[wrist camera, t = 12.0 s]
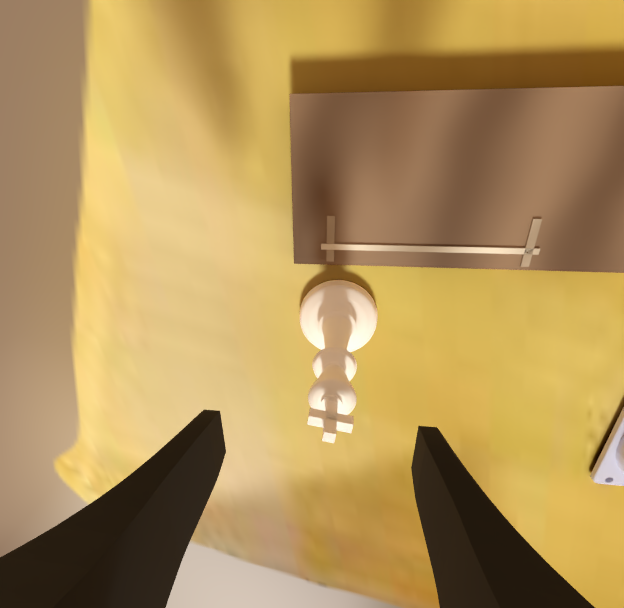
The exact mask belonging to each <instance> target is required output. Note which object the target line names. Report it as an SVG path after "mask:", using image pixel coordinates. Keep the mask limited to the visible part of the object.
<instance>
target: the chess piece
mask: <svg viewBox="0 0 624 608" xmlns="http://www.w3.org/2000/svg"><path fill="white" fill-rule="evenodd" d="M300 324H301V328H302V331H303V333H304V335H305V336H306V338H307V339H308V340H309V341H310V342H311V343H312V344H313V345H314V346H316V347H317V348H319V349H321V351H319V352H318V353H317V354H316V355H315V357H314V359H313V370H314V373H315V375H316V377H317V378H318V379H317V380H316V381H315V382H314V383H313V385H312V386H311V388H310V390H309V394H308V400H309V404H310V406H311V408H310V412H309V417H308V423H307V425H312V426H317V427H322V428H323V438H322V441H326V442H331V443H334V441H335V437H336V430H337V431H342V432H347V433H351V432H352V428H353V416H349V415H348V414H349V413H350V412H351V411H352V410H353V409H354V407H355V405H356V393H355V390H354V388H353V386H352V385H351V383H350V382H349V381H350V380H351V379H352V378H353V376H354V375H355V373H356V369H357V363H356V360H355V358H354V356H353V355H352V354H351V353H350V352H352V351H355V350H357V349H359V348H361V347H362V346H363V345H365V344H366V343H367V342H368V341H369V340H370V338H371V337H372V335H373V334H374V331H375V329H376V324H377V308H376V305H375V302H374V300H373V298H372V297H371V295H370V294H369V293H368V292H367V291H366V290H365V289H364V288H362V287H361V286H359V285H357V284H355V283H353V282H349V281H345V280H331V281H326V282H323V283H321V284H319V285H317V286H315V287H314V288H313V289H311V290H310V291H309V292H308V294H307V295H306V296H305V298H304V300H303V302H302V304H301V308H300Z"/></svg>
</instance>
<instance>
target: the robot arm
mask: <svg viewBox="0 0 624 608" xmlns="http://www.w3.org/2000/svg"><path fill="white" fill-rule="evenodd" d="M225 453H226V449H225V442H224V435H223V429H222V422H221V415H220V411H214V410H203V411H202V412H201V413H200V414H199V415H198V416H197V417H195V418H194V419H193V420H192V421H191V422H190V423H189V424H188V425H187V426H186V427H185V428H184V429H183V430H181V431H180V432H179V433H178V434H177V435H176V436H175V437H174V438H173V439H172V440H171V441H169V442H168V443H167V444H166V445H165V446H164V447H163V448H162V449H160V450H159V451H158V452H157V453H156V454H155V455H154V456H152V457H151V458H150V459H149V460H148V461H146V462H145V463H144V464H143V465H142V466H140V467H139V468H138V469H137V470H135V471H134V472H133V473H132V474H131V475H129V476H128V477H127V478H125V479H124V480H123V481H122V482H120V483H119V484H118V485H116V486H115V487H114V488H112V489H111V490H109V491H108V492H107V493H105V494H104V495H102V496H101V497H100V498H98V499H97V500H95V501H94V502H92V503H91V504H89V505H88V506H86V507H85V508H83V509H82V510H80V511H78V512H77V513H76V514H74V515H72V516H71V517H69V518H68V519H66V520H65V521H63V522H61V523H60V524H58V525H57V526H55V527H53V528H52V529H50V530H49V531H47V532H45V533H43V534H41V535H40V536H38V537H36V538H35V539H33V540H31V541H29V542H27V543H26V544H24V545H22V546H20V547H19V548H17V549H15V550H13V551H11V552H10V553H8V554H6V555H4V556H3V557H0V608H165V607H166V604H167V601H168V598H169V595H170V592H171V590H172V586H173V584H174V581H175V578H176V575H177V572H178V569H179V567H180V564H181V561H182V558H183V556H184V554H185V551H186V548H187V546H188V544H189V542H190V539H191V537H192V535H193V533H194V530H195V528H196V526H197V524H198V521H199V519H200V517H201V515H202V513H203V510H204V508H205V506H206V504H207V501H208V499H209V497H210V495H211V492H212V490H213V488H214V485H215V483H216V481H217V478H218V475H219V472H220V469H221V466H222V463H223V459H224V456H225ZM411 468H412V476H413V484H414V491H415V498H416V503H417V507H418V511H419V516H420V520H421V524H422V528H423V532H424V536H425V540H426V544H427V549H428V553H429V557H430V561H431V565H432V569H433V573H434V578H435V583H436V587H437V592H438V599H439V605H440V608H595V607H594V606H592V605H591V604H590V603H589V602H588V601H587V600H586V599H585V598H584V597H583V596H582V595H581V594H580V593H578V592H577V591H576V590H575V589H574V588H573V587H572V586H571V585H570V584H569V583H568V582H567V581H566V580H565V579H564V578H563V577H562V576H560V575H559V574H558V573H557V572H556V571H555V570H554V569H553V568H552V567H551V566H550V565H549V564H548V563H547V562H546V561H545V560H544V559H543V558H542V557H541V556H540V555H539V554H538V553H537V552H536V551H535V550H534V549H533V548H532V547H531V546H530V545H529V543H528V542H527V541H526V540H525V539H524V538H523V537H522V536H521V535H520V534H519V533H518V532H517V531H516V529H515V528H514V527H513V526H512V525H511V524H510V523H509V522H508V520H507V519H506V518H505V517H504V516H503V515H502V514H501V512H500V511H499V510H498V509H497V508H496V506H495V505H494V504H493V503H492V502H491V500H490V499H489V498H488V497H487V495H486V494H485V493H484V492H483V490H482V489H481V488H480V487H479V485H478V484H477V483H476V481H475V480H474V479H473V477H472V476H471V475H470V473H469V472H468V471H467V470H466V468H465V467H464V465H463V464H462V463H461V461H460V460H459V458H458V457H457V456H456V454H455V453H454V451H453V450H452V448H451V447H450V446H449V444H448V443H447V441H446V440H445V438H444V437H443V435H442V434H441V432H440V431H439V429H438V428H437V427H424V426H419V427H418V432H417V438H416V444H415V450H414V456H413V462H412V467H411ZM590 477H591V478H592V480H593V481H594V482H595V483H599V484H609V485H620V486H624V407H623V409H622V411H621V413H620V416H619V418H618V420H617V422H616V424H615V426H614V428H613V430H612V432H611V434H610V436H609V438H608V440H607V442H606V444H605V446H604V448H603V450H602V452H601V454H600V456H599V458H598V460H597V462H596V464H595V466H594V468H593V470H592V472H591V475H590Z"/></svg>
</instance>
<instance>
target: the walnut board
mask: <svg viewBox="0 0 624 608" xmlns="http://www.w3.org/2000/svg"><path fill="white" fill-rule="evenodd" d="M290 127H291V165H292V202H293V240H294V264H330V265H366V266H401V267H437V268H473V269H509V270H545V271H580V272H616V273H624V86H596V87H555V88H514V89H473V90H432V91H391V92H350V93H309V94H290Z"/></svg>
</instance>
